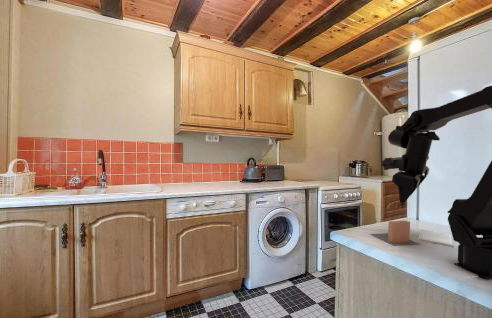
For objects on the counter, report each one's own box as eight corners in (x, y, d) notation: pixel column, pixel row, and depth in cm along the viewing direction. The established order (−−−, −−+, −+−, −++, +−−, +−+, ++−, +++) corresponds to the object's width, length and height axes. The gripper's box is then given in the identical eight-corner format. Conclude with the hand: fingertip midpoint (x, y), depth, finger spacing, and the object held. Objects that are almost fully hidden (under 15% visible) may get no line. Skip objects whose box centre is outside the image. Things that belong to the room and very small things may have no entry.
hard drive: (420, 228, 80) (418, 238, 71) (452, 234, 75) (454, 244, 66) (420, 233, 80) (418, 243, 71) (451, 239, 75) (454, 250, 66)
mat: (420, 245, 68) (420, 244, 68) (393, 247, 66) (393, 245, 66) (392, 234, 77) (392, 232, 77) (369, 235, 76) (369, 234, 76)
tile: (409, 241, 69) (410, 221, 69) (392, 242, 68) (392, 222, 68) (405, 239, 71) (405, 220, 71) (388, 240, 70) (388, 221, 70)
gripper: (395, 143, 82) (386, 184, 87) (378, 151, 70) (368, 198, 74) (434, 150, 75) (422, 194, 79) (423, 159, 62) (409, 211, 66)
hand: (405, 198), depth 75 cm, fingers open, 9 cm apart
